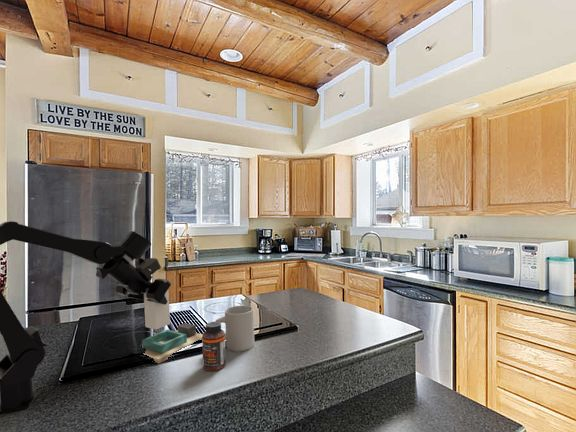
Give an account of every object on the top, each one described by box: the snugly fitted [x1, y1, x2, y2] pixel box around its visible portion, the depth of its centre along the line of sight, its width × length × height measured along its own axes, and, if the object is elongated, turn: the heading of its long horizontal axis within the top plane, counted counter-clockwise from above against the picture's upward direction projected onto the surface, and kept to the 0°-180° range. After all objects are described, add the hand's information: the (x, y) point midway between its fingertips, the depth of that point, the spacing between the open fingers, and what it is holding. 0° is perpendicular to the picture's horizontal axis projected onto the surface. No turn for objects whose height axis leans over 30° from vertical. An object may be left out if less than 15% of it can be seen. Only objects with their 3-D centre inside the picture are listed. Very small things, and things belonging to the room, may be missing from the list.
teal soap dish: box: [141, 322, 203, 364], centre depth 98 cm, size 18×13×4 cm
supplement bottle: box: [201, 321, 227, 372], centre depth 85 cm, size 6×6×11 cm
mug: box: [214, 305, 256, 352], centre depth 96 cm, size 12×8×11 cm
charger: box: [143, 289, 171, 330], centre depth 98 cm, size 5×5×12 cm
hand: (160, 302), depth 99 cm, fingers closed on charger, 5 cm apart
